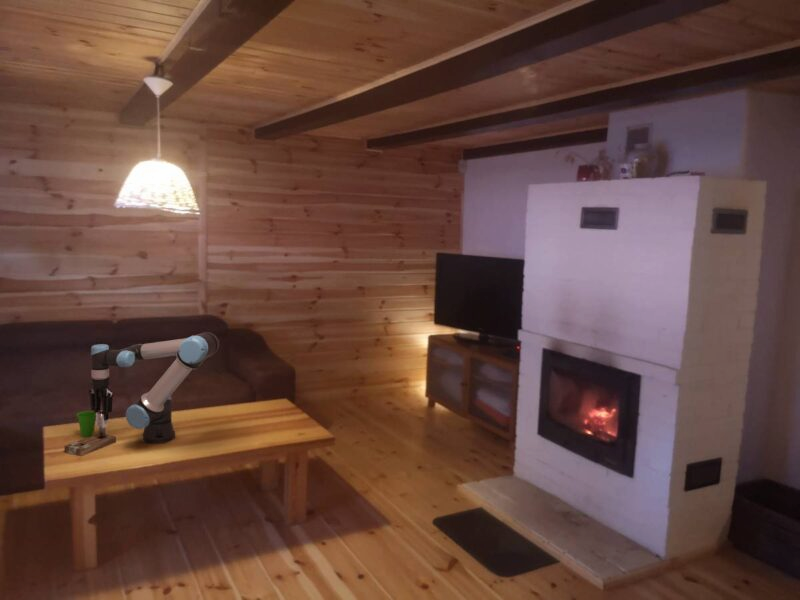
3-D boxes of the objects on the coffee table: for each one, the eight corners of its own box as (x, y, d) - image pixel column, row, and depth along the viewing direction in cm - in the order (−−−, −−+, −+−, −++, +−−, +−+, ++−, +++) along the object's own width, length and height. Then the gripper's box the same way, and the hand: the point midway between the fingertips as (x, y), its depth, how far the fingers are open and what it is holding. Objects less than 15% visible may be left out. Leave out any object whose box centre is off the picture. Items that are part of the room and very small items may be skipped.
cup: (89, 439, 303) (88, 417, 302) (72, 437, 305) (72, 415, 303) (101, 433, 312) (101, 412, 310) (85, 431, 314) (85, 410, 312)
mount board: (116, 442, 301) (116, 436, 300) (80, 456, 282) (80, 449, 282) (100, 439, 304) (100, 432, 304) (64, 452, 286) (64, 445, 285)
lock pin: (107, 433, 299) (106, 409, 298) (102, 435, 296) (101, 411, 295) (102, 432, 300) (101, 408, 299) (97, 434, 297) (96, 410, 296)
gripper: (119, 377, 295) (121, 426, 298) (94, 373, 301) (95, 421, 304) (107, 381, 288) (108, 430, 291) (81, 377, 294) (82, 425, 297)
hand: (101, 426), depth 298 cm, fingers closed on lock pin, 3 cm apart
